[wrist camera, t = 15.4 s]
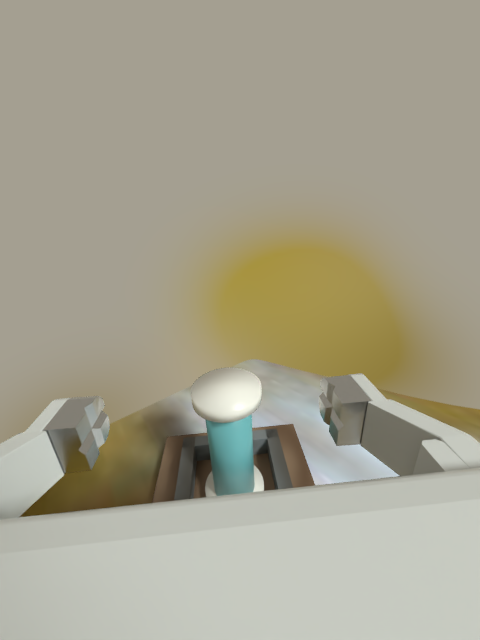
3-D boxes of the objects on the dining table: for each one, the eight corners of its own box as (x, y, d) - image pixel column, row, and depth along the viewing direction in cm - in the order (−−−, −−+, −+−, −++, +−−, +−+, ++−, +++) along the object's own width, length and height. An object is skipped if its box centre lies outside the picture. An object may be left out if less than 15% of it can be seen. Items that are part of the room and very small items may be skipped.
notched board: (130, 626, 21) (118, 600, 20) (168, 444, 38) (164, 422, 36) (349, 596, 22) (354, 568, 21) (292, 432, 39) (293, 410, 37)
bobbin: (204, 526, 26) (186, 414, 21) (207, 469, 32) (193, 370, 27) (268, 519, 26) (266, 406, 21) (259, 463, 32) (256, 365, 27)
